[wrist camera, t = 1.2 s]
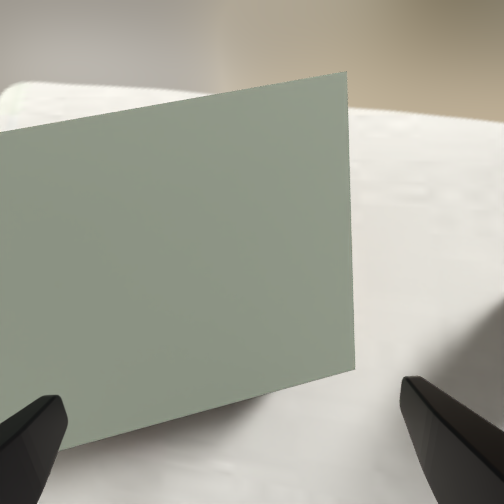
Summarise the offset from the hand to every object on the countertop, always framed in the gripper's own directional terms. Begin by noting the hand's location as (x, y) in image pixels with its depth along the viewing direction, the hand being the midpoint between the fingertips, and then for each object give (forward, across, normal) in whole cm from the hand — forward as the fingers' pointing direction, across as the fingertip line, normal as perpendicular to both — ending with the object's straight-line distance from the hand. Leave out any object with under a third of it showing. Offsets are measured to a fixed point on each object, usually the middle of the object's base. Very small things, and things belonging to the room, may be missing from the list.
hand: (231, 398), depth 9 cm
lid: (+6, +4, -1) cm, 7 cm away
